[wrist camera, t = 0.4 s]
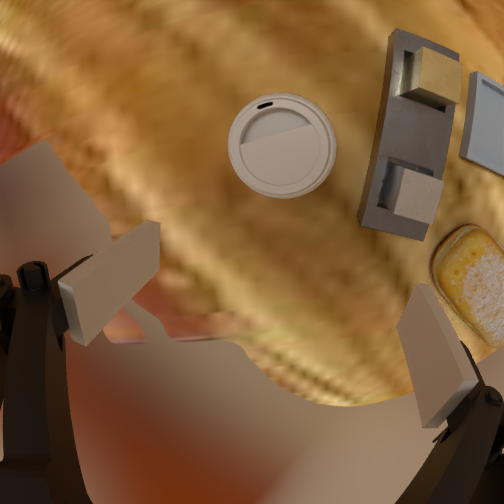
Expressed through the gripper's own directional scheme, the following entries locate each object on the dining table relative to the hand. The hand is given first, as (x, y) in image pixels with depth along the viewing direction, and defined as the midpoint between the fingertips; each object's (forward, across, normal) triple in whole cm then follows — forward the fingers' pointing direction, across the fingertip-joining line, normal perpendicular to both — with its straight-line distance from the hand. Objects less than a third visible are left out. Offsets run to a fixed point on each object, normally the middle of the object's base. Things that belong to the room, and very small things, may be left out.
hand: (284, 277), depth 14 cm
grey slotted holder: (+26, +12, +10) cm, 31 cm away
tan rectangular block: (+26, +12, +17) cm, 33 cm away
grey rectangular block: (+25, +12, +3) cm, 28 cm away
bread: (+27, +34, -8) cm, 44 cm away
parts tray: (+26, +27, +16) cm, 41 cm away
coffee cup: (+27, -2, +5) cm, 27 cm away
